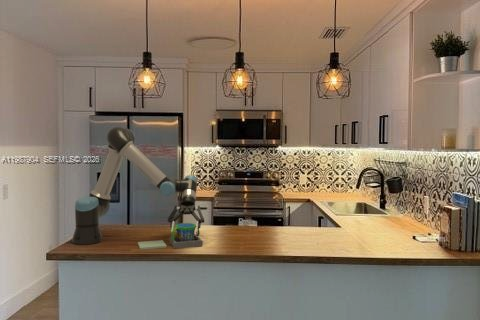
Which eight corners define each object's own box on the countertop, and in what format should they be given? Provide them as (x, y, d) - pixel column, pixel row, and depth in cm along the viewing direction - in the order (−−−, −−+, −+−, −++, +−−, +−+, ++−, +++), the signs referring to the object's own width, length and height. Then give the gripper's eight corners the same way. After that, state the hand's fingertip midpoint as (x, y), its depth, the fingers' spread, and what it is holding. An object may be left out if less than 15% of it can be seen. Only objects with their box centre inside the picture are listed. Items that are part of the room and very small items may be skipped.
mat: (140, 249, 203) (140, 247, 203) (137, 243, 215) (137, 242, 215) (166, 247, 207) (166, 245, 207) (162, 241, 220) (162, 240, 220)
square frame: (174, 248, 205) (174, 242, 205) (169, 242, 218) (169, 236, 218) (202, 246, 210) (202, 240, 210) (195, 240, 223) (195, 234, 223)
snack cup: (195, 239, 222) (195, 221, 222) (203, 244, 213) (203, 225, 213) (167, 243, 214) (167, 224, 214) (175, 248, 205) (175, 228, 205)
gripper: (210, 203, 229) (208, 237, 214) (167, 203, 229) (162, 236, 214) (210, 195, 223) (207, 229, 208) (165, 195, 223) (160, 228, 209)
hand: (184, 233), depth 211 cm, fingers closed on snack cup, 12 cm apart
